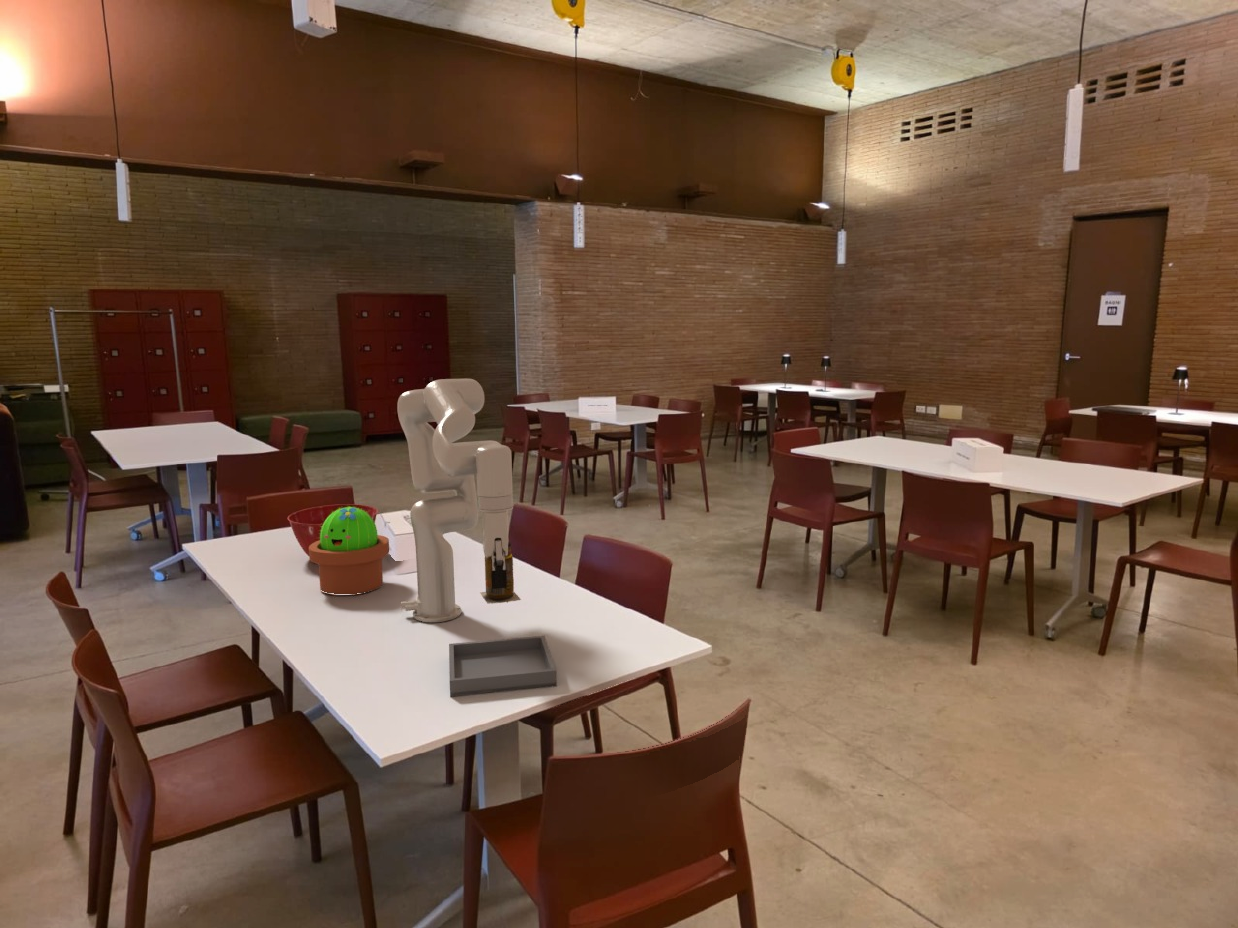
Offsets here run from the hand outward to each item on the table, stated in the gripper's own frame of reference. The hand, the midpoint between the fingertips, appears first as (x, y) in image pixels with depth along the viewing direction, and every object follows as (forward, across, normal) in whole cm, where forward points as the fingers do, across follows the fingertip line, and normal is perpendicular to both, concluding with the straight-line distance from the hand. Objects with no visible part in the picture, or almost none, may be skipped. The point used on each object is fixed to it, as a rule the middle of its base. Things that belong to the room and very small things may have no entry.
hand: (498, 582), depth 168 cm
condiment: (+3, +1, 0) cm, 3 cm away
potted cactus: (+19, -69, -39) cm, 81 cm away
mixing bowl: (+19, -104, -47) cm, 116 cm away
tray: (+20, +1, 0) cm, 20 cm away
